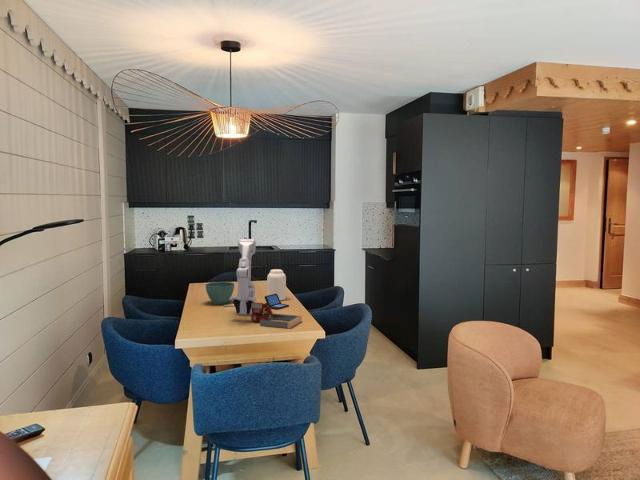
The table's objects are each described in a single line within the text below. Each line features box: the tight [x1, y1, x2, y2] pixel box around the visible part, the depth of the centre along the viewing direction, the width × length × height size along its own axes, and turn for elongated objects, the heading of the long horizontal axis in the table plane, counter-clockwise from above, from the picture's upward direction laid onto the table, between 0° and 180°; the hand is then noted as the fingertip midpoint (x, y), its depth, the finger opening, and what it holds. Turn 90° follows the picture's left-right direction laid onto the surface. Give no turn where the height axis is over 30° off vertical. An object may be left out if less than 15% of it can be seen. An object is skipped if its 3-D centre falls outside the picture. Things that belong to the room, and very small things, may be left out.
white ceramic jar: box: [266, 268, 287, 302], centre depth 323 cm, size 12×12×20 cm
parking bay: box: [259, 312, 303, 329], centre depth 259 cm, size 18×16×3 cm
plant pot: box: [205, 281, 235, 305], centre depth 310 cm, size 18×18×12 cm
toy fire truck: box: [250, 301, 273, 323], centre depth 263 cm, size 7×12×10 cm, turn 71°
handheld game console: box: [264, 294, 290, 311], centre depth 299 cm, size 12×11×7 cm
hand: (243, 313), depth 266 cm, fingers open, 6 cm apart
